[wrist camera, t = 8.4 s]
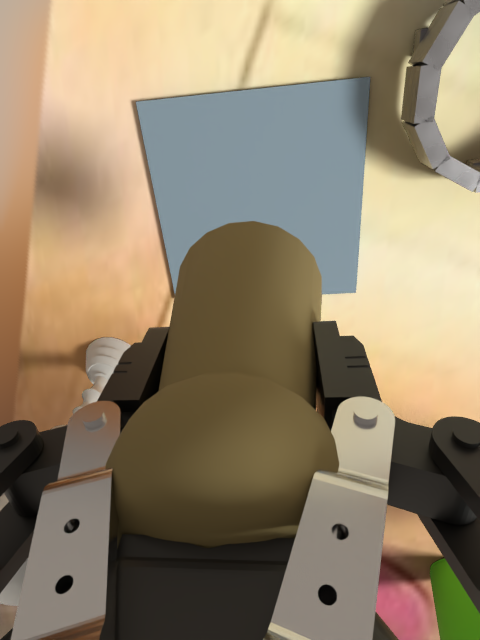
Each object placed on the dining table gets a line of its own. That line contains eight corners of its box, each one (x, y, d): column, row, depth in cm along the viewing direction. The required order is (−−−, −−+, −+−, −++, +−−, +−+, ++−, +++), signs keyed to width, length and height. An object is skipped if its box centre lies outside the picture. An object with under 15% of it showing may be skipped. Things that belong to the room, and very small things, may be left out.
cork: (155, 241, 16) (-23, 487, 6) (308, 203, 14) (373, 438, 5) (202, 360, 18) (131, 649, 9) (332, 337, 17) (402, 642, 8)
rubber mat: (369, 76, 23) (370, 76, 23) (354, 290, 30) (355, 292, 30) (137, 101, 24) (135, 101, 24) (177, 298, 32) (176, 301, 31)
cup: (403, 580, 52) (431, 691, 43) (427, 543, 47) (465, 659, 38) (471, 589, 52) (515, 702, 42) (502, 553, 47) (559, 671, 38)
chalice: (71, 322, 34) (-97, 525, 18) (149, 331, 34) (46, 542, 18) (81, 386, 38) (-50, 597, 22) (151, 394, 38) (68, 612, 22)
